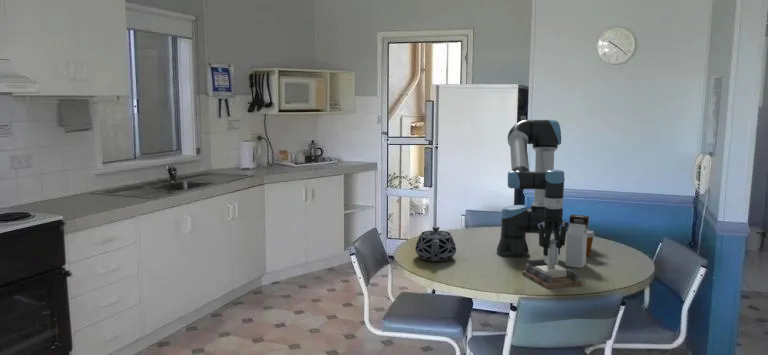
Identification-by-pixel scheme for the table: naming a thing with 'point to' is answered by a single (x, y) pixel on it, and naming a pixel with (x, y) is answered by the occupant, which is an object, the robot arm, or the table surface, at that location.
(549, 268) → the white pillar stand
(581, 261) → the milk carton
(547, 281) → the base
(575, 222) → the coffee box
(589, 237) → the disposable coffee cup
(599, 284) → the table surface
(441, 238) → the black lattice pot
